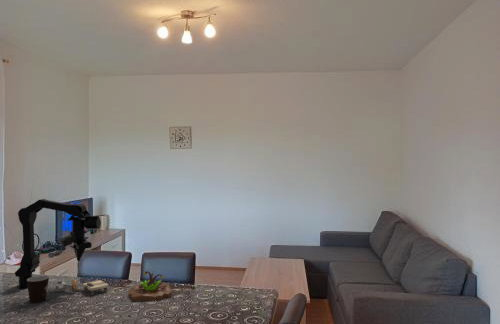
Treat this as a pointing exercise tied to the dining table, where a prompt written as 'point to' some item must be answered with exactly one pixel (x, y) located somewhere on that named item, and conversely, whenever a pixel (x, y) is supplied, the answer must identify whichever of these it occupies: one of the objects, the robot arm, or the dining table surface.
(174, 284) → the dining table surface
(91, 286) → the level stand
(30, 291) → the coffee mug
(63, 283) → the cam capstan
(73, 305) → the dining table surface
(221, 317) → the dining table surface
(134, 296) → the plant
